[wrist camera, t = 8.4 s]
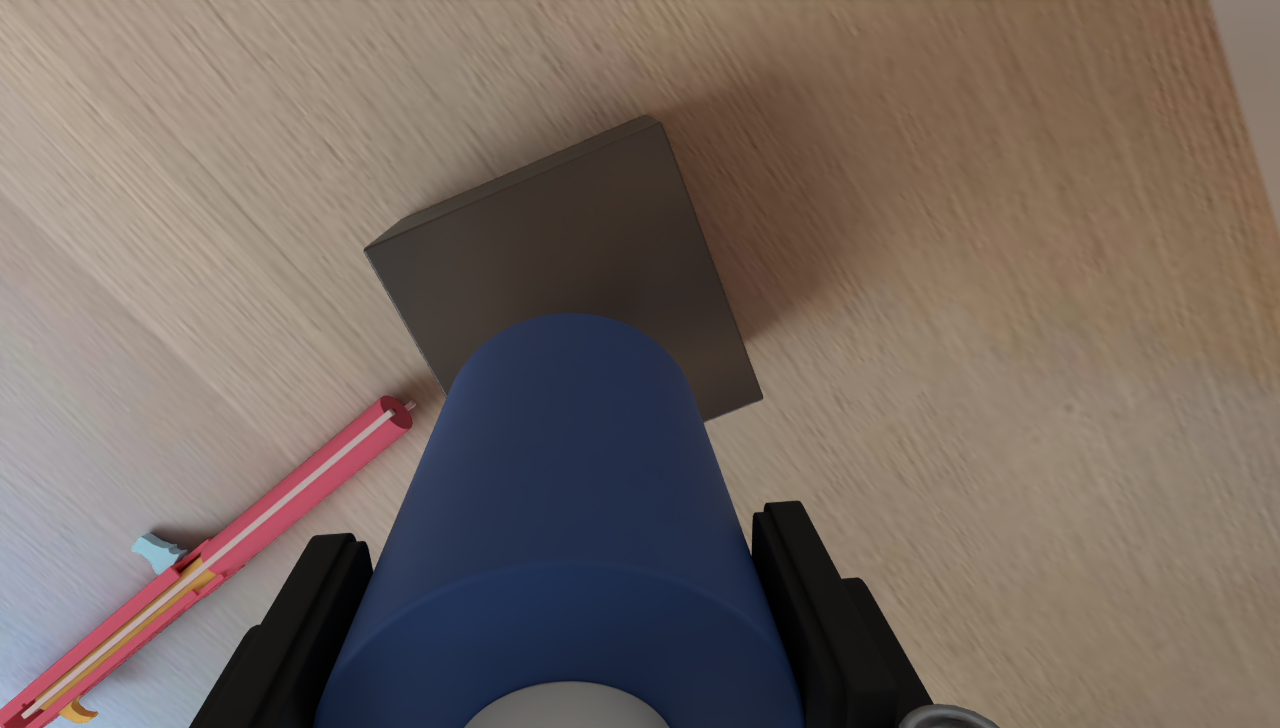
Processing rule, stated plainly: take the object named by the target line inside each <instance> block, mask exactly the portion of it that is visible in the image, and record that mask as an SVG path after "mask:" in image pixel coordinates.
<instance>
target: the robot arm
mask: <svg viewBox="0 0 1280 728" xmlns="http://www.w3.org/2000/svg"><path fill="white" fill-rule="evenodd" d="M752 559H753V562H754V565H755V567H756V570H757V573H758V576H759V578H760V581H761V584H762V587H763V590H764V592H765V595H766V598H767V601H768V603H769V606H770V609H771V612H772V614H773V617H774V620H775V623H776V626H777V628H778V631H779V634H780V637H781V639H782V642H783V645H784V648H785V650H786V653H787V656H788V659H789V662H790V664H791V667H792V670H793V673H794V675H795V678H796V681H797V684H798V686H799V689H800V692H801V697H802V702H803V707H804V712H805V728H1000V727H998V726H997V725H996V724H995V723H994V722H992V721H991V720H989V719H987V718H985V717H983V716H981V715H980V714H978V713H976V712H974V711H971V710H968V709H965V708H961V707H958V706H955V705H944V704H934V703H933V702H932V700H931V698H930V696H929V695H928V693H927V691H926V689H925V687H924V686H923V684H922V682H921V680H920V679H919V677H918V675H917V673H916V672H915V670H914V668H913V666H912V665H911V663H910V661H909V659H908V658H907V656H906V654H905V652H904V650H903V649H902V647H901V645H900V643H899V642H898V640H897V638H896V636H895V635H894V633H893V631H892V629H891V628H890V626H889V624H888V622H887V620H886V619H885V617H884V615H883V613H882V612H881V610H880V608H879V606H878V605H877V603H876V601H875V599H874V598H873V596H872V594H871V592H870V590H869V589H868V587H867V586H866V584H865V583H864V581H863V580H862V579H860V578H845V579H841V577H840V575H839V573H838V571H837V569H836V568H835V566H834V564H833V562H832V560H831V558H830V556H829V554H828V552H827V550H826V548H825V547H824V545H823V543H822V541H821V539H820V537H819V535H818V533H817V531H816V529H815V527H814V526H813V524H812V522H811V520H810V518H809V516H808V514H807V512H806V510H805V508H804V507H803V505H802V503H801V502H800V501H786V502H772V503H766V504H765V506H764V512H757V513H754V515H753V524H752ZM372 574H373V568H372V563H371V558H370V553H369V549H368V545H367V544H366V542H364V541H358V542H357V541H356V538H355V537H354V535H353V534H352V533H341V534H327V535H316V536H313V537H312V538H311V540H310V541H309V543H308V544H307V546H306V548H305V550H304V551H303V553H302V555H301V556H300V558H299V560H298V561H297V563H296V565H295V567H294V568H293V570H292V572H291V573H290V575H289V577H288V579H287V580H286V582H285V584H284V585H283V587H282V589H281V590H280V592H279V594H278V596H277V597H276V599H275V601H274V602H273V604H272V606H271V607H270V609H269V611H268V613H267V614H266V616H265V618H264V619H263V621H262V623H261V625H256V626H254V627H252V628H250V629H249V631H248V632H247V633H246V634H245V636H244V637H243V639H242V640H241V642H240V644H239V645H238V647H237V649H236V650H235V652H234V654H233V655H232V657H231V659H230V660H229V662H228V664H227V665H226V667H225V669H224V670H223V672H222V674H221V675H220V677H219V679H218V680H217V682H216V684H215V685H214V687H213V689H212V690H211V692H210V693H209V695H208V697H207V698H206V700H205V702H204V703H203V705H202V707H201V708H200V710H199V712H198V713H197V715H196V717H195V718H194V720H193V722H192V723H191V725H190V727H189V728H313V725H314V720H315V715H316V710H317V707H318V705H319V702H320V699H321V697H322V694H323V692H324V689H325V686H326V684H327V682H328V679H329V677H330V675H331V672H332V670H333V667H334V665H335V663H336V660H337V658H338V655H339V653H340V651H341V648H342V646H343V644H344V641H345V639H346V636H347V634H348V632H349V629H350V627H351V624H352V622H353V620H354V617H355V615H356V613H357V610H358V608H359V605H360V603H361V601H362V598H363V596H364V594H365V591H366V589H367V586H368V584H369V582H370V579H371V577H372Z"/></svg>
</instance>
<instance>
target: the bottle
mask: <svg viewBox="0 0 1280 728" xmlns="http://www.w3.org/2000/svg"><path fill="white" fill-rule="evenodd" d="M313 728H805V712H804V707H803V702H802V697H801V692H800V689H799V686H798V684H797V681H796V678H795V675H794V673H793V670H792V667H791V664H790V662H789V659H788V656H787V653H786V650H785V648H784V645H783V642H782V639H781V637H780V634H779V631H778V628H777V626H776V623H775V620H774V617H773V614H772V612H771V609H770V606H769V603H768V601H767V598H766V595H765V592H764V590H763V587H762V584H761V581H760V578H759V576H758V573H757V570H756V567H755V565H754V562H753V559H752V556H751V554H750V551H749V548H748V545H747V542H746V540H745V537H744V534H743V531H742V529H741V526H740V523H739V520H738V518H737V515H736V512H735V509H734V506H733V504H732V501H731V498H730V495H729V493H728V490H727V487H726V484H725V482H724V479H723V476H722V473H721V470H720V468H719V465H718V462H717V459H716V457H715V454H714V451H713V448H712V446H711V443H710V440H709V437H708V435H707V432H706V429H705V426H704V423H703V421H702V418H701V415H700V412H699V410H698V407H697V404H696V401H695V399H694V396H693V393H692V391H691V388H690V385H689V383H688V381H687V379H686V377H685V376H684V374H683V372H682V370H681V369H680V367H679V366H678V365H677V363H676V362H675V361H674V359H673V358H672V357H671V356H670V355H669V354H668V353H667V352H666V351H665V350H664V349H663V348H662V347H661V346H660V345H659V344H658V343H656V342H655V341H654V340H652V339H651V338H650V337H649V336H647V335H646V334H644V333H642V332H640V331H639V330H637V329H635V328H633V327H631V326H629V325H627V324H624V323H622V322H619V321H617V320H613V319H610V318H606V317H602V316H598V315H590V314H583V313H560V314H552V315H544V316H540V317H536V318H532V319H528V320H526V321H523V322H521V323H518V324H515V325H513V326H511V327H509V328H507V329H505V330H503V331H502V332H500V333H498V334H496V335H495V336H494V337H492V338H491V339H489V340H488V341H487V342H485V343H484V344H483V345H482V346H481V347H480V348H479V349H478V350H477V351H476V352H474V353H473V354H472V355H471V357H470V358H469V359H468V360H467V362H466V363H465V364H464V366H463V367H462V368H461V370H460V371H459V373H458V375H457V377H456V378H455V380H454V382H453V384H452V386H451V389H450V391H449V394H448V396H447V398H446V401H445V403H444V405H443V408H442V410H441V413H440V415H439V417H438V420H437V422H436V424H435V427H434V429H433V432H432V434H431V436H430V439H429V441H428V444H427V446H426V448H425V451H424V453H423V455H422V458H421V460H420V463H419V465H418V467H417V470H416V472H415V474H414V477H413V479H412V482H411V484H410V486H409V489H408V491H407V494H406V496H405V498H404V501H403V503H402V505H401V508H400V510H399V513H398V515H397V517H396V520H395V522H394V524H393V527H392V529H391V532H390V534H389V536H388V539H387V541H386V544H385V546H384V548H383V551H382V553H381V555H380V558H379V560H378V563H377V565H376V567H375V570H374V572H373V574H372V577H371V579H370V582H369V584H368V586H367V589H366V591H365V594H364V596H363V598H362V601H361V603H360V605H359V608H358V610H357V613H356V615H355V617H354V620H353V622H352V624H351V627H350V629H349V632H348V634H347V636H346V639H345V641H344V644H343V646H342V648H341V651H340V653H339V655H338V658H337V660H336V663H335V665H334V667H333V670H332V672H331V675H330V677H329V679H328V682H327V684H326V686H325V689H324V692H323V694H322V697H321V699H320V702H319V705H318V707H317V710H316V715H315V720H314V725H313Z"/></svg>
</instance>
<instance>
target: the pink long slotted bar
mask: <svg viewBox="0 0 1280 728" xmlns="http://www.w3.org/2000/svg"><path fill="white" fill-rule="evenodd" d="M415 405H416V404H415V402H414V401H413V400H412V401H410V402H409V403H407V404H406V405H405V406H403V405H402V404H401V403H400V402H399V401H397V400H396V399H394V398H392V397H390V396H383V397H382V398H380V399H379V400H378V401H377V402H376V403H374V404H373V405H372V406H371V407H370V408H369V409H367V410H366V411H365V412H364V413H363V414H361V415H360V416H359V417H358V418H357V419H355V420H354V421H353V422H352V423H351V424H349V425H348V426H347V427H346V428H345V429H343V430H342V431H341V432H340V433H339V434H337V435H336V436H335V437H334V438H333V439H331V440H330V441H329V442H328V443H327V444H325V445H324V446H323V447H322V448H321V449H319V450H318V451H317V452H316V453H315V454H313V455H312V456H311V457H310V458H309V459H307V460H306V461H305V462H304V463H303V464H301V465H300V466H299V467H298V468H297V469H296V470H294V471H293V472H292V473H291V474H290V475H288V476H287V477H286V478H285V479H284V480H282V481H281V482H280V483H279V484H278V485H276V486H275V487H274V488H273V489H272V490H270V491H269V492H268V493H267V494H266V495H264V496H263V497H262V498H261V499H260V500H258V501H257V502H256V503H255V504H254V505H252V506H251V507H250V508H249V509H248V510H246V511H245V512H244V513H243V514H242V515H240V516H239V517H238V518H237V519H236V520H234V521H233V522H232V523H231V524H230V525H228V526H227V527H226V528H225V529H224V530H223V531H221V532H220V533H219V534H218V535H217V536H215V537H214V538H213V539H212V538H211V537H210V538H208V539H207V540H205V541H204V542H203V543H202V544H201V545H200V546H198V547H197V548H196V549H195V550H194V551H192V552H191V553H190V554H189V555H188V556H186V557H185V558H184V559H183V557H184V556H185V554H186V552H187V550H180V549H178V548H177V544H169V543H168V542H164V541H162V540H160V539H159V538H158V537H156V536H154V535H153V534H151V533H148V534H146V535H144V536H141V537H140V538H139V539H138V540H137V542H136V543H135V544H134V546H133V547H132V548H131V550H132V551H133V552H136V553H139V554H140V555H142V556H143V557H144V558H145V559H147V560H148V561H149V562H150V563H151V565H152V567H153V570H154V571H155V572H156V573H157V575H159V576H158V577H157V578H156V579H154V580H153V581H152V582H151V583H150V584H148V585H147V586H146V587H145V588H144V589H142V590H141V591H140V592H139V593H138V594H137V595H135V596H134V597H133V598H132V599H131V600H129V601H128V602H127V603H126V604H125V605H124V606H122V607H121V608H120V609H119V610H118V611H116V612H115V613H114V614H113V615H112V616H111V617H109V618H108V619H107V620H106V621H105V622H103V623H102V624H101V625H100V626H99V627H98V628H96V629H95V630H94V631H93V632H92V633H90V634H89V635H88V636H87V637H86V638H85V639H83V640H82V641H81V642H80V643H79V644H77V645H76V646H75V647H74V648H73V649H72V650H70V651H69V652H68V653H67V654H66V655H64V656H63V657H62V658H61V659H60V660H59V661H57V662H56V663H55V664H54V665H53V666H51V667H50V668H49V669H48V670H47V671H46V672H44V673H43V674H42V675H41V676H40V677H38V678H37V679H36V680H35V681H34V682H32V683H31V684H30V685H29V686H28V687H27V688H25V689H24V690H23V691H22V692H21V693H19V694H18V695H17V696H16V697H15V698H14V699H12V700H11V701H10V702H9V703H8V704H6V705H5V706H4V707H3V708H2V709H1V710H0V727H1V728H43V727H44V726H46V725H47V724H49V723H50V722H52V721H53V720H54V719H56V718H57V717H58V716H59V715H62V716H63V717H65V718H66V719H68V720H71V721H73V722H75V723H86V722H88V721H90V720H91V719H93V718H94V717H96V716H97V714H98V712H92V711H88V710H86V709H85V708H83V707H82V706H81V705H80V704H79V702H78V700H79V699H80V698H81V697H82V696H83V695H85V694H86V693H87V692H88V691H90V690H91V689H92V688H93V687H94V686H96V685H97V684H98V683H99V682H100V681H102V680H103V679H104V678H105V677H107V676H108V675H109V674H110V673H111V672H113V671H114V670H115V669H116V668H117V667H119V666H120V665H121V664H122V663H124V662H125V661H126V660H127V659H128V658H130V657H131V656H132V655H133V654H134V653H136V652H137V651H138V650H139V649H141V648H142V647H143V646H144V645H145V644H147V643H148V642H149V641H150V640H151V639H153V638H154V637H155V636H156V635H158V634H159V633H160V632H161V631H162V630H164V629H165V628H166V627H167V626H168V625H170V624H171V623H172V622H173V621H174V620H176V619H177V618H178V617H179V616H181V615H182V614H183V613H184V612H185V611H187V610H188V609H189V608H190V607H191V606H193V605H194V604H195V603H196V602H198V601H199V600H200V599H201V598H202V597H204V598H205V597H206V596H208V595H209V594H210V593H212V592H213V591H214V590H215V589H217V588H218V587H219V586H220V585H221V584H223V583H224V582H225V581H226V580H228V579H229V578H230V577H231V576H233V575H234V574H235V573H236V572H237V571H239V570H240V569H241V568H242V567H244V566H245V565H244V564H245V563H246V562H247V561H248V560H250V559H251V558H252V557H253V556H255V555H256V554H257V553H258V552H260V551H261V550H262V549H263V548H264V547H266V546H267V545H268V544H269V543H271V542H272V541H273V540H274V539H275V538H277V537H278V536H279V535H280V534H282V533H283V532H284V531H285V530H286V529H288V528H289V527H290V526H291V525H293V524H294V523H295V522H296V521H297V520H299V519H300V518H301V517H302V516H304V515H305V514H306V513H307V512H308V511H310V510H311V509H312V508H313V507H315V506H316V505H317V504H318V503H319V502H321V501H322V500H323V499H324V498H326V497H327V496H328V495H329V494H330V493H332V492H333V491H334V490H335V489H337V488H338V487H339V486H340V485H341V484H343V483H344V482H345V481H346V480H348V479H349V478H350V477H351V476H352V475H354V474H355V473H356V472H357V471H359V470H360V469H361V468H362V467H364V466H365V465H366V464H367V463H368V462H370V461H371V460H372V459H373V458H375V457H376V456H377V455H378V454H379V453H381V452H382V451H383V450H384V449H386V448H387V447H388V446H389V445H390V444H392V443H393V442H394V441H395V440H397V439H398V438H399V437H400V436H401V435H403V434H404V433H405V432H406V431H408V430H409V429H410V428H411V427H412V419H411V416H410V414H409V413H408V411H409V410H410V409H412V408H413V407H414V406H415ZM182 559H183V560H182Z"/></svg>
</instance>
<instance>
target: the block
mask: <svg viewBox="0 0 1280 728" xmlns="http://www.w3.org/2000/svg"><path fill="white" fill-rule="evenodd" d="M364 253H365V255H366V257H367V258H368V260H369V262H370V264H371V265H372V267H373V269H374V271H375V273H376V274H377V276H378V278H379V280H380V281H381V283H382V285H383V287H384V289H385V290H386V292H387V294H388V296H389V297H390V299H391V301H392V303H393V304H394V306H395V308H396V310H397V312H398V313H399V315H400V317H401V319H402V320H403V322H404V324H405V326H406V327H407V329H408V331H409V333H410V335H411V336H412V338H413V340H414V342H415V343H416V345H417V347H418V349H419V350H420V352H421V354H422V356H423V358H424V359H425V361H426V363H427V365H428V366H429V368H430V370H431V372H432V374H433V375H434V377H435V379H436V381H437V382H438V384H439V386H440V388H441V389H442V391H443V393H444V395H445V397H446V398H447V396H448V394H449V391H450V389H451V386H452V384H453V382H454V380H455V378H456V377H457V375H458V373H459V371H460V370H461V368H462V367H463V366H464V364H465V363H466V362H467V360H468V359H469V358H470V357H471V355H472V354H473V353H474V352H476V351H477V350H478V349H479V348H480V347H481V346H482V345H483V344H484V343H485V342H487V341H488V340H489V339H491V338H492V337H494V336H495V335H496V334H498V333H500V332H502V331H503V330H505V329H507V328H509V327H511V326H513V325H515V324H518V323H521V322H523V321H526V320H528V319H532V318H536V317H540V316H544V315H552V314H560V313H583V314H590V315H598V316H602V317H606V318H610V319H613V320H617V321H619V322H622V323H624V324H627V325H629V326H631V327H633V328H635V329H637V330H639V331H640V332H642V333H644V334H646V335H647V336H649V337H650V338H651V339H652V340H654V341H655V342H656V343H658V344H659V345H660V346H661V347H662V348H663V349H664V350H665V351H666V352H667V353H668V354H669V355H670V356H671V357H672V358H673V359H674V361H675V362H676V363H677V365H678V366H679V367H680V369H681V370H682V372H683V374H684V376H685V377H686V379H687V381H688V383H689V385H690V388H691V391H692V393H693V396H694V399H695V401H696V404H697V407H698V410H699V412H700V415H701V418H702V421H703V423H705V422H707V421H710V420H712V419H715V418H717V417H720V416H722V415H725V414H727V413H730V412H732V411H735V410H738V409H740V408H743V407H745V406H748V405H750V404H753V403H755V402H758V401H760V400H762V399H763V394H762V392H761V389H760V386H759V384H758V381H757V378H756V375H755V373H754V370H753V367H752V365H751V362H750V359H749V357H748V354H747V351H746V348H745V346H744V343H743V340H742V338H741V335H740V332H739V330H738V327H737V324H736V321H735V319H734V316H733V313H732V311H731V308H730V305H729V303H728V300H727V297H726V294H725V292H724V289H723V286H722V284H721V281H720V278H719V276H718V273H717V270H716V267H715V265H714V262H713V259H712V257H711V254H710V251H709V249H708V246H707V243H706V240H705V238H704V235H703V232H702V230H701V227H700V224H699V221H698V219H697V216H696V213H695V211H694V208H693V205H692V203H691V200H690V197H689V194H688V192H687V189H686V186H685V184H684V181H683V178H682V176H681V173H680V170H679V167H678V165H677V162H676V159H675V157H674V154H673V151H672V149H671V146H670V143H669V140H668V138H667V135H666V132H665V130H664V127H663V124H662V123H661V122H660V121H658V120H656V119H654V118H652V117H650V116H649V115H643V116H641V117H638V118H636V119H634V120H631V121H629V122H627V123H624V124H622V125H620V126H617V127H615V128H613V129H610V130H608V131H606V132H603V133H601V134H599V135H596V136H594V137H592V138H589V139H587V140H585V141H582V142H580V143H578V144H576V145H573V146H571V147H569V148H566V149H564V150H562V151H559V152H557V153H555V154H552V155H550V156H548V157H545V158H543V159H541V160H538V161H536V162H534V163H531V164H529V165H527V166H524V167H522V168H520V169H517V170H515V171H513V172H510V173H508V174H506V175H503V176H501V177H499V178H496V179H494V180H492V181H489V182H487V183H485V184H482V185H480V186H478V187H476V188H473V189H471V190H469V191H466V192H464V193H462V194H459V195H457V196H455V197H452V198H450V199H448V200H445V201H443V202H441V203H438V204H436V205H434V206H431V207H429V208H427V209H424V210H422V211H420V212H417V213H415V214H413V215H410V216H408V217H406V218H403V219H401V220H400V221H398V222H397V223H396V224H395V225H393V226H392V227H391V228H390V229H388V230H387V231H386V232H384V233H383V234H382V235H381V236H379V237H378V238H377V239H376V240H374V241H373V242H372V243H371V244H369V245H368V246H367V247H365V248H364Z"/></svg>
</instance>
